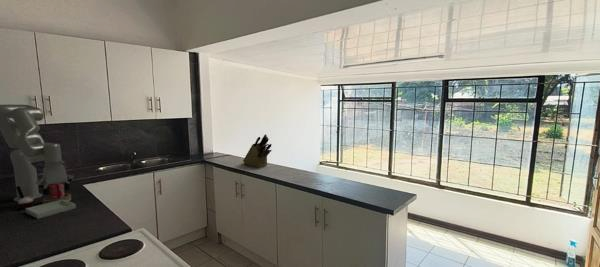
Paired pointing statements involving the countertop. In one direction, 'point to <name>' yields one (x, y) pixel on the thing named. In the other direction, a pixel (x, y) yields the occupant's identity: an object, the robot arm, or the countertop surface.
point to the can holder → (46, 199)
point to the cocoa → (24, 200)
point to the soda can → (56, 191)
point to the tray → (50, 208)
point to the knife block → (258, 153)
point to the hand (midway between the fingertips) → (57, 192)
